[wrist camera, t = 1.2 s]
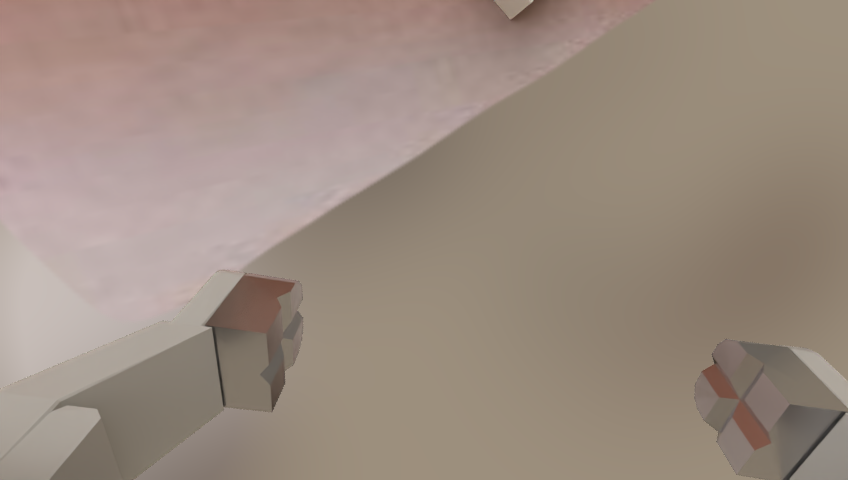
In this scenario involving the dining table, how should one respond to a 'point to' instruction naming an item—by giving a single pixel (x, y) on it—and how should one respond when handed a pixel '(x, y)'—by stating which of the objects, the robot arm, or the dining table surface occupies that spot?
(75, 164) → the dining table surface
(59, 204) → the dining table surface
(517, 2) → the console
